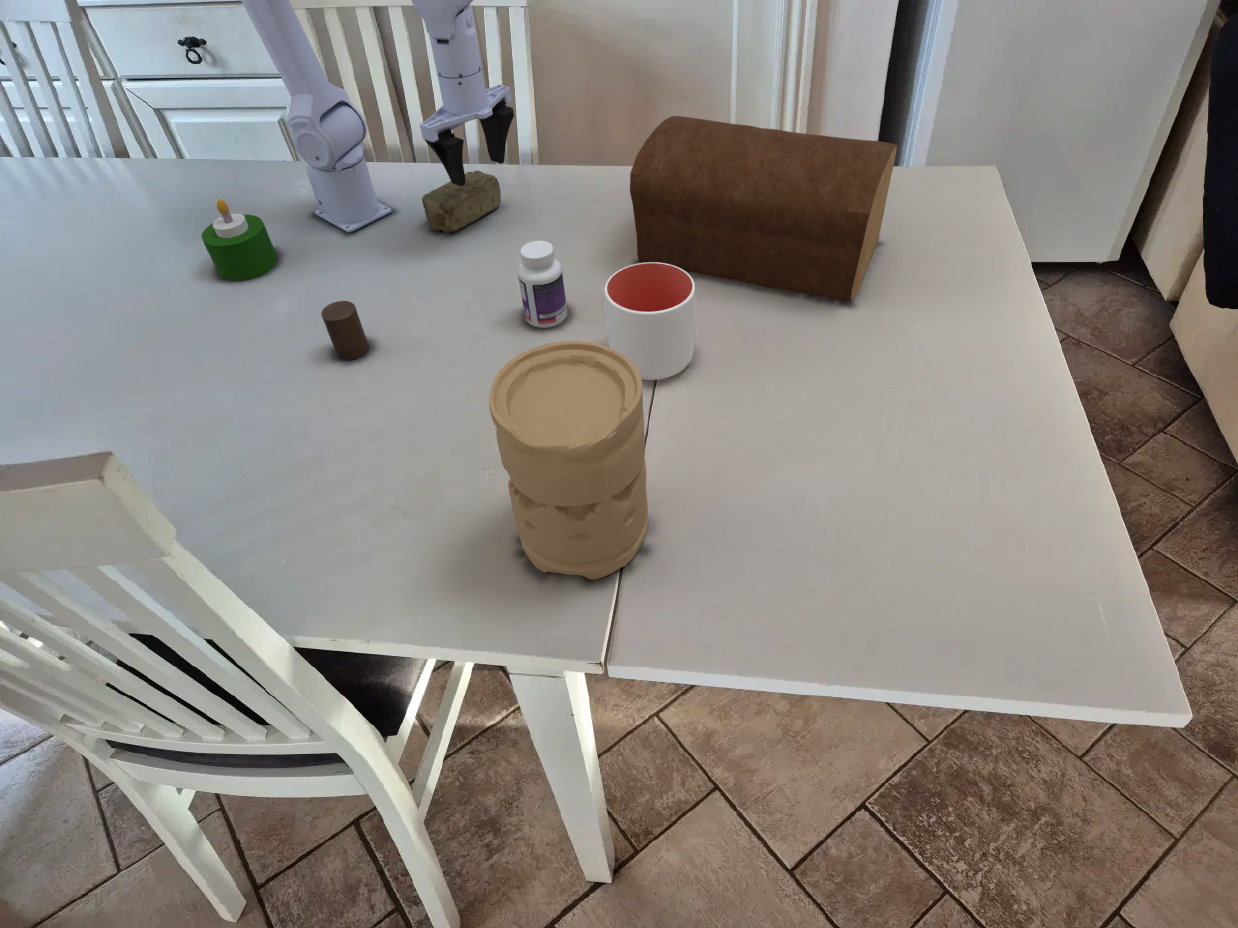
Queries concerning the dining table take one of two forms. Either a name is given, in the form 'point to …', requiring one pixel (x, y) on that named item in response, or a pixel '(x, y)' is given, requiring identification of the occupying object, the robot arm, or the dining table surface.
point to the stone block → (461, 201)
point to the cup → (652, 317)
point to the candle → (239, 245)
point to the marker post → (345, 330)
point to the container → (573, 455)
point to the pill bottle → (541, 285)
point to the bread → (761, 204)
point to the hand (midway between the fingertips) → (478, 172)
